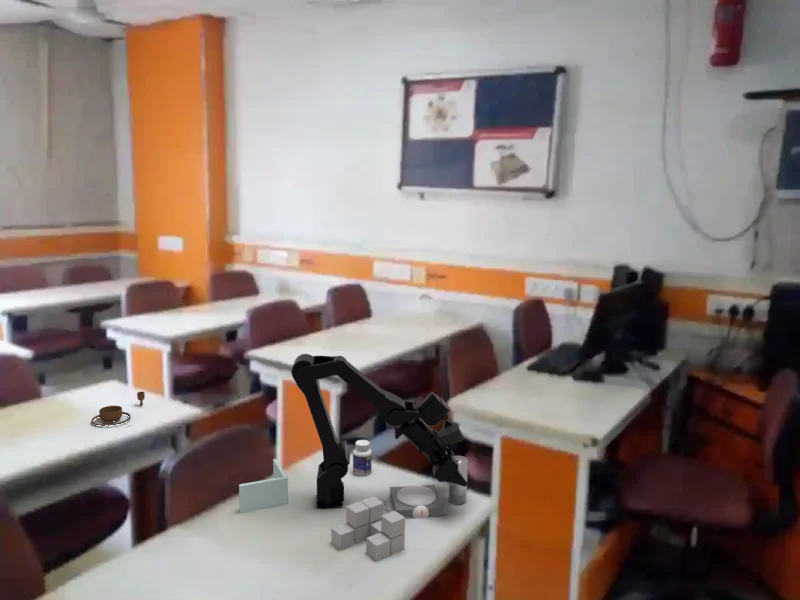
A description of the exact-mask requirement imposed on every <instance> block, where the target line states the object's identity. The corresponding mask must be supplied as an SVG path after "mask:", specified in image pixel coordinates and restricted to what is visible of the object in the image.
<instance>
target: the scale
mask: <svg viewBox="0 0 800 600" xmlns="http://www.w3.org/2000/svg"><path fill="white" fill-rule="evenodd" d="M389 497H390V500H391V501H390V502H391V504H392V507H393V511H396V512H398V513H399V514H401V515H402V516H404V517H405V519H411V518H414V519H421V518H422V519H423V518H428V517H431V518H432V517H442V516H445V508H446V507H445V505H444V503H443V501H442V497H441V496H440V494H439V491H438V488H437V487H436V485H435V484H424V485H403V486H390V487H389Z"/></svg>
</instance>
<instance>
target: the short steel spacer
mask: <svg viewBox="0 0 800 600" xmlns="http://www.w3.org/2000/svg"><path fill="white" fill-rule="evenodd" d="M387 513H390V506H388V505H387V504H384V505H383V515H384V514H387Z"/></svg>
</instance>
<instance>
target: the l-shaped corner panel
mask: <svg viewBox="0 0 800 600" xmlns="http://www.w3.org/2000/svg"><path fill="white" fill-rule="evenodd" d="M272 462H273V463H272V466H273V467H272V469H273V470H272V471H273V472H272V473H273V476H272V477H273V478H268V479H263V480H257V481H252V482H246V483H240V484H238V493H239V496H238V497H239V498H238V499H239V500H238V501H239V512H240V513H245V512H250V511H255V510H257V511H258V510H262V509H266V508H272V507H277V506H281V505H287V504H289V478H288V476H287V474H286V473H285V471H284V469H283V467H282V466H281V464H280V462H279V461H278V459H277V458H273V459H272Z"/></svg>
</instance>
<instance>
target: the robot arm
mask: <svg viewBox="0 0 800 600" xmlns="http://www.w3.org/2000/svg"><path fill="white" fill-rule="evenodd" d="M290 373H291V376H292V379H293V380H294V383H295V384H296V386H297V388H298V389H299V390H300V392H301V393H302V394H303V396H304V397H305V400H306V403H307V405H308V408H309V411H310V414H311V417H312V420H313V423H314V426H315V428H316V431H317V435H318V438H319V440H320V443H321V446H322V457H323V461H321V462H320V463H319V464H318V468H317V475H316V495H315V503H316V508H317V509H329V508H342V507H343V502H344V501H345V485H344V482H343V481H342V480H343V478H344V477H345V476H347V473H348V472H349V466H350V464H351V463H350V461H351V452H350V451H349V449H348V448H347V441H346V439H344V440H343V441H340V439H339V438H338V436H337V434H336V431H335V429H334V425H333V423H332V420H331V416H330V414H329V410H328V408H327V405H326V402H325V399H324V396H323V393H322V390H321V385H320V380H322V379H326V378H329V377H336V376H337V377H339V378H340V379H341V380H343V382H344V383H346V384H347V385H349V386H350V387H351V388H352V389H354V391H356V392H357V393H358V394H359V395H361V396H362V397H363V398H365V399H366V400H368V401H369V402H370V403H371V404H372V405H373V407H374V408H375V409H376V411H377V412H378V414H379V415H380V416H381V417H382V418H383V420H384V421H385V422H386V423H387V424H388V425H390V426H392V427H393V429H394V439H395V440H398V439H399V438H400V437H401V436H404V437H405V438H406V439H407V440H408V442H410V443H411V444H412V445H413V446H414V447H416V450H417V452H418V453H419V454H421V453H422V454H423V455H424V456H425V457H426V458H427V459H428V463H429V464H431V465H432V464H433V466H432V472H433V476H434V479H436V481H438V483H443V482H447V483H449V482H450V483H454V484H457V485H461V486H464V487H465V486H466V485H467V486H468V481H467V482H466V480H465V479H464V477H463V476H462V475H461V473H460V472H459V471H458V462H457V460H456V459H455V458H454V457H453V456H456V455H455V454H454V453H453V451H452V445H454V444H456V443H461V442H462V441H464V439H465V438H464V435H463V433H462V431H461V428H460V427H459V424H458V423H456V422H455V421H454V422H453V421H451V420H450V419H449V418H447V419H446V420H443V419H444V418H445V417H446V416H447V415H448V414H449V413H451V411H452V408H451V407H450V405H449V404H448V403H447V402H446V401H445V400H444V399H443V397H441V396H438V394H435V393H434V392H433V391H430V392H429V393H428V394H427V395H426V397H425V398H424V399H422V401H421V402H419V404H418V402H417V401H416V402H415V401H409V400H408V401H407V400H404V399H403V398H401V397H399V396H398V395H396V394H394V393H393V392H390V391H388V390H384V389H383V388H381V387H380V386H379V385H377V384H376V383H375V382H374V381H372V380H371V379H370V378H369V377H367V375H365V374H364V373H362V371H360V370H359V369H358V368H357V367H355V366H354V365H353V364H352V363H351V362H349V361H348V360H347V358H346V357H345V356H343V355H336V356H335V355H334V356H330V355H311V354H309V353H302V354H300V355H298V356H297V357H296V358H295V359H294V361H293V365H292V368H291V372H290ZM442 420H443V425H442V427H441V428H440V430H438V431H437V430H436V429H434V428H430V427H429V426H431V427H433V426H436V425H437V424H438V423H440V422H441V421H442ZM434 462H436V463H435V464H434Z"/></svg>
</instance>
